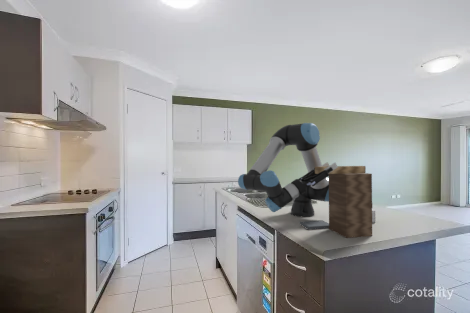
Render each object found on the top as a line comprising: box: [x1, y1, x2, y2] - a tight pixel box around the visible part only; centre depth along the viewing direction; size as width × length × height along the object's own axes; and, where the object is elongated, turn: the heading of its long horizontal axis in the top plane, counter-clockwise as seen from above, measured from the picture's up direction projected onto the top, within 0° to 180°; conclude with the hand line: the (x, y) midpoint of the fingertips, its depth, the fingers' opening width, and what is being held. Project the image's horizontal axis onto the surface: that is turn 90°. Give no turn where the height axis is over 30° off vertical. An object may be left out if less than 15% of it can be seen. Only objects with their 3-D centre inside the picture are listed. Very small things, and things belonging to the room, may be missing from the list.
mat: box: [299, 220, 329, 230], centre depth 129 cm, size 14×10×2 cm
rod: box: [315, 165, 367, 174], centre depth 117 cm, size 26×4×4 cm, turn 101°
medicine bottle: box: [372, 208, 376, 224], centre depth 138 cm, size 7×7×12 cm
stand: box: [328, 172, 373, 239], centre depth 118 cm, size 14×14×30 cm
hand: (332, 164), depth 116 cm, fingers open, 6 cm apart
